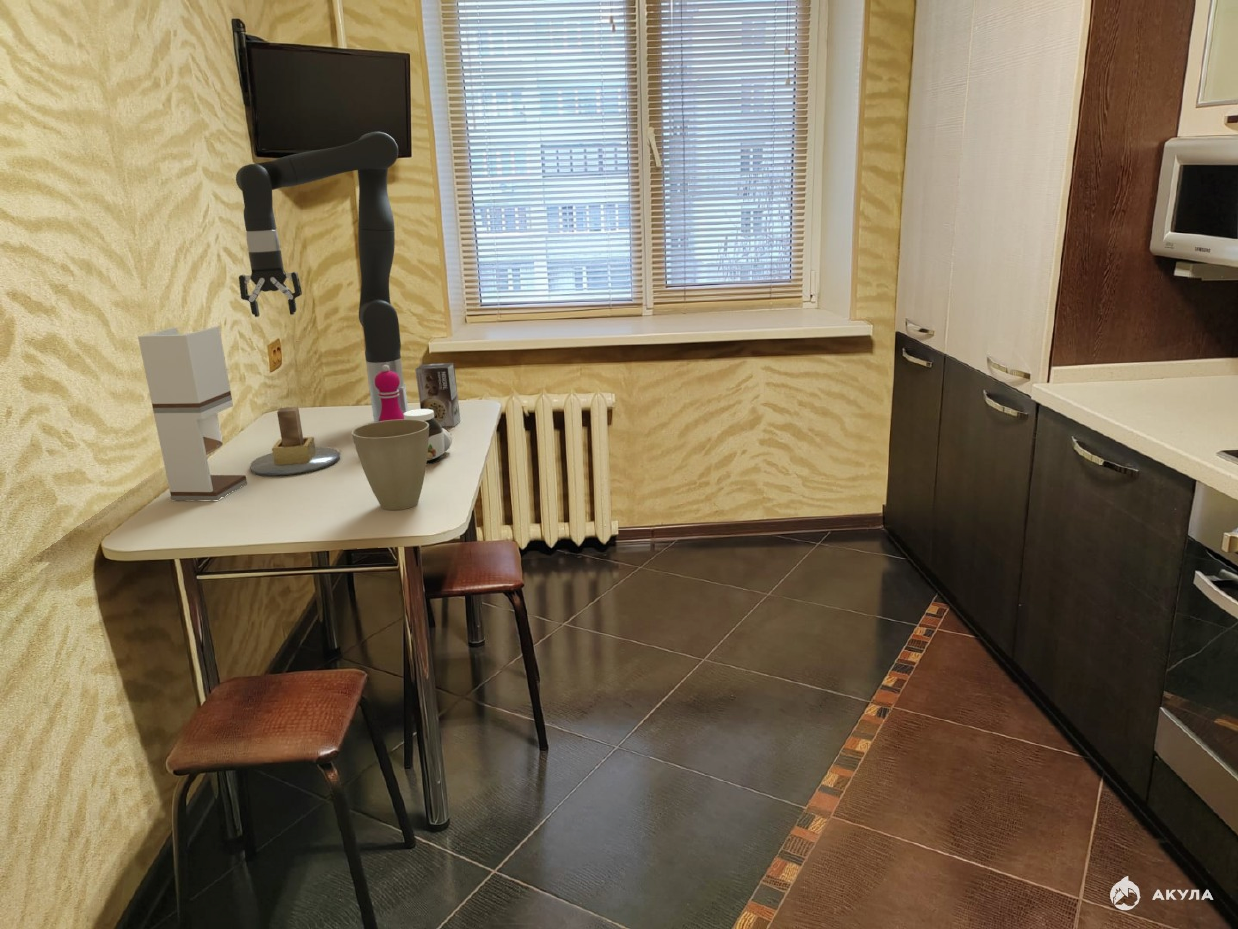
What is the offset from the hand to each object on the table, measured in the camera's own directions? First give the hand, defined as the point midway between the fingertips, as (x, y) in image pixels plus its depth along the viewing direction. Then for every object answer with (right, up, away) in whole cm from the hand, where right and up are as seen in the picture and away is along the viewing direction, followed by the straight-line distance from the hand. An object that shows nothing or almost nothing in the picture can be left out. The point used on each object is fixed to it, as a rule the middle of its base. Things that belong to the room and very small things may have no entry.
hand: (274, 315), depth 228 cm
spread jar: (+42, -36, -14) cm, 57 cm away
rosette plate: (+10, -37, -14) cm, 41 cm away
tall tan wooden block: (+10, -36, -14) cm, 40 cm away
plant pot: (+42, -46, -45) cm, 77 cm away
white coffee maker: (-2, -44, -31) cm, 54 cm away
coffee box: (+39, -27, +16) cm, 50 cm away
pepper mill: (+30, -32, 0) cm, 44 cm away
